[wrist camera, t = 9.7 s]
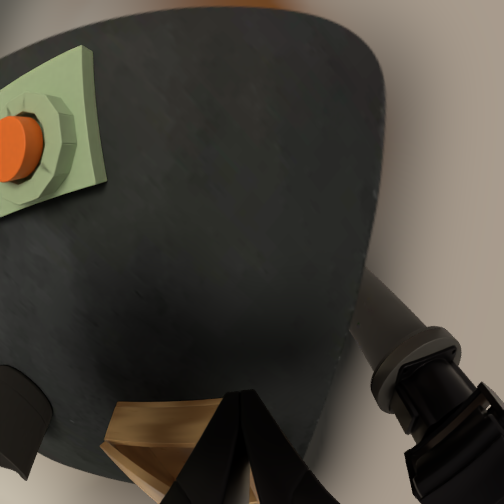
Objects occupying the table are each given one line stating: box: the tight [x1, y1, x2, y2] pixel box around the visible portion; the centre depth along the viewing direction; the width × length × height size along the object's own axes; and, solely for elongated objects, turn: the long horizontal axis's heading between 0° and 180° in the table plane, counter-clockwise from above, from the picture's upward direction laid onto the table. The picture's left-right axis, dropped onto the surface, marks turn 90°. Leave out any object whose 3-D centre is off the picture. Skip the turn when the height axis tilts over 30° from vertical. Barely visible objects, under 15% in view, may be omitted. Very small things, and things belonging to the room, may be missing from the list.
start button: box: [0, 116, 43, 182], centre depth 11 cm, size 4×4×2 cm
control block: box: [0, 45, 107, 217], centre depth 13 cm, size 12×9×4 cm
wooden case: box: [104, 398, 260, 504], centre depth 22 cm, size 11×15×5 cm
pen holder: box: [0, 366, 52, 481], centre depth 17 cm, size 9×9×10 cm
